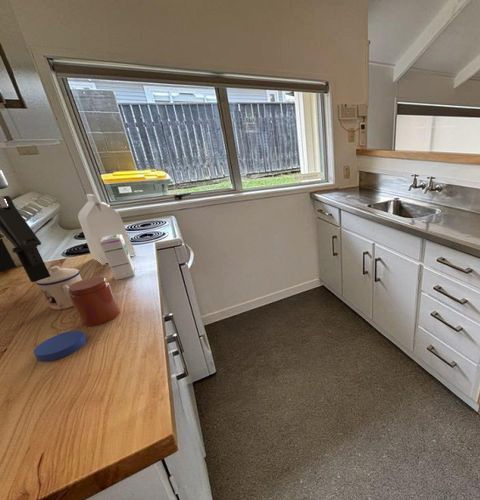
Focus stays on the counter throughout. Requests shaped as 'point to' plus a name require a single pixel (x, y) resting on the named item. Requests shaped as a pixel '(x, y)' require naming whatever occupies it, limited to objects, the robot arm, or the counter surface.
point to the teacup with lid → (59, 286)
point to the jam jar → (94, 301)
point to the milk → (101, 226)
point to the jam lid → (59, 346)
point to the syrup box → (117, 256)
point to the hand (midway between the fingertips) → (23, 274)
